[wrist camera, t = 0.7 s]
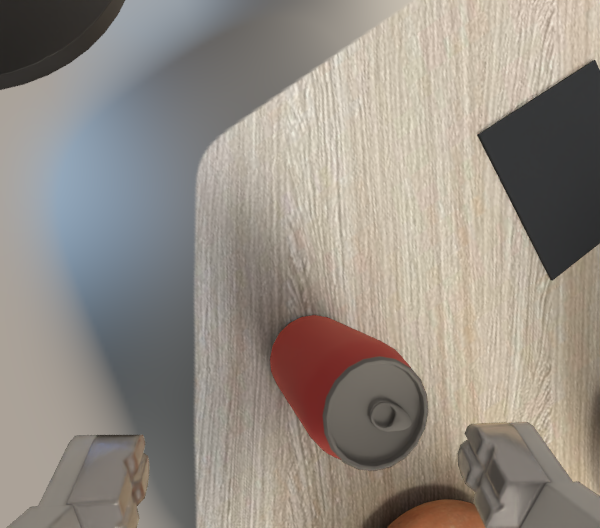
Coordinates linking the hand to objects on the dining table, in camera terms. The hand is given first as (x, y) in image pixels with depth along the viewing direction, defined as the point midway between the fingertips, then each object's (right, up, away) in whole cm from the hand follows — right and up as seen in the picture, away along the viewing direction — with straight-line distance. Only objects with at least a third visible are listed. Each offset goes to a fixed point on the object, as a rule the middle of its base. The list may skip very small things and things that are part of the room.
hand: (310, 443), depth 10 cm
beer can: (0, -3, +21) cm, 21 cm away
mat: (+25, +13, +27) cm, 39 cm away
